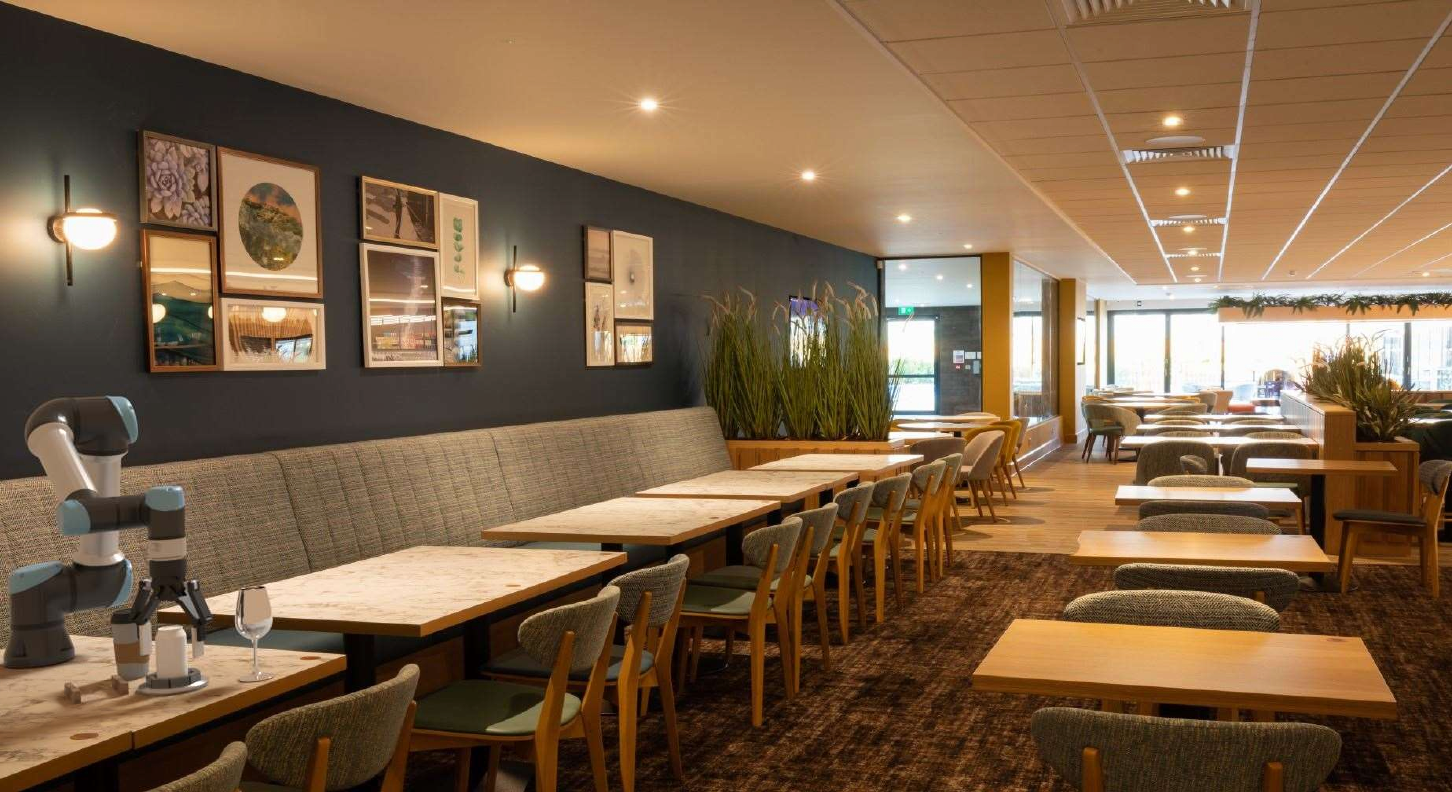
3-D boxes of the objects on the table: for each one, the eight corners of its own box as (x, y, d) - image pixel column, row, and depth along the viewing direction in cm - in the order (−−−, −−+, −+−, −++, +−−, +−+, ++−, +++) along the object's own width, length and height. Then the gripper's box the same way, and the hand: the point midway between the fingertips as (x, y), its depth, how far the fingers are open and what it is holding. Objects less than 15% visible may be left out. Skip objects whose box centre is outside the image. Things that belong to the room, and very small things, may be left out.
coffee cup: (137, 681, 273) (134, 614, 273) (104, 680, 275) (101, 614, 275) (161, 672, 282) (158, 606, 281) (129, 671, 283) (126, 606, 283)
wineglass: (266, 671, 278) (262, 583, 278) (281, 676, 273) (277, 587, 272) (231, 678, 273) (227, 588, 273) (246, 684, 267) (242, 592, 267)
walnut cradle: (64, 695, 263) (64, 683, 263) (117, 685, 270) (117, 674, 270) (74, 704, 256) (74, 692, 256) (128, 694, 262) (128, 682, 262)
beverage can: (168, 687, 263) (166, 631, 262) (150, 684, 266) (148, 629, 266) (194, 680, 268) (191, 626, 268) (176, 677, 271) (174, 623, 271)
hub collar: (131, 687, 268) (130, 673, 268) (198, 675, 277) (197, 662, 277) (147, 699, 257) (146, 685, 257) (217, 686, 266) (216, 673, 266)
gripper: (107, 559, 266) (112, 657, 267) (204, 561, 259) (208, 661, 260) (133, 554, 273) (137, 649, 274) (228, 555, 266) (232, 653, 267)
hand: (172, 655), depth 267 cm, fingers open, 13 cm apart
